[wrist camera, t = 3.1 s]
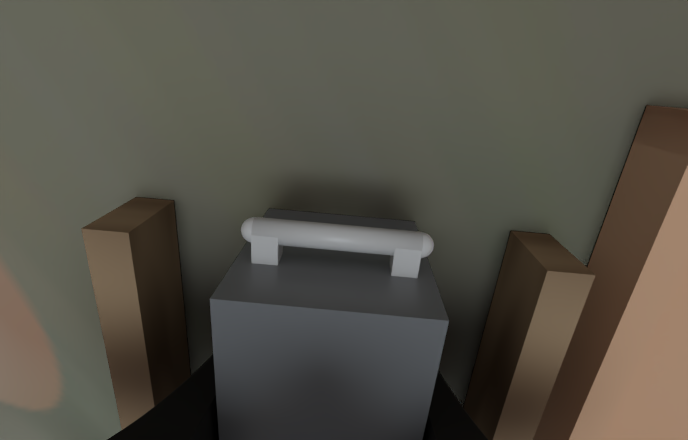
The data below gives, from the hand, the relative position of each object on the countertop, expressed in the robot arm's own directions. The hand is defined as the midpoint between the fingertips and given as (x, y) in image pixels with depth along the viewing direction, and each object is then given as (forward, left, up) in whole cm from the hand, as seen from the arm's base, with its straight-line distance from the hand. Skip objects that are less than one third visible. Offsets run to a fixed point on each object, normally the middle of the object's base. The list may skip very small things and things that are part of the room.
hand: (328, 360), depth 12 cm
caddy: (0, 0, -1) cm, 1 cm away
